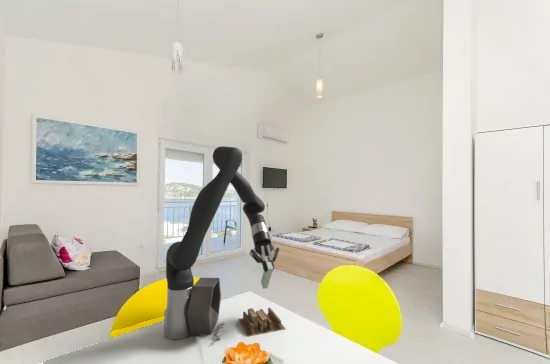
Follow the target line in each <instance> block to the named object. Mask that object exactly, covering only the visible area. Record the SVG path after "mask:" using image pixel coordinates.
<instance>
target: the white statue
mask: <svg viewBox="0 0 550 364" xmlns="http://www.w3.org/2000/svg"><path fill="white" fill-rule="evenodd" d="M225 329H226V327H225V322H224V321H222V323H220V324H218V326H217V328H216V330H215V331H214V332H212V335H213V336H211V337H210V339H209V341H211V340H213V341H212V342H210V343H209V345H208V348H210V347H213V346H214V345H215V342H216V341H221V340H222V336H221V335H222V334H223V331H224V330H225Z"/></svg>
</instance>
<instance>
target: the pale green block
mask: <svg viewBox="0 0 550 364" xmlns="http://www.w3.org/2000/svg"><path fill="white" fill-rule="evenodd" d="M266 264H267V268H268V270H267V272H265V271H264V270H263V272H262V277H261V280H260V283H261V287H262V289H268V288H269V284H270V280H271V277H272V273H273V271H274V270H273V266H272V264H271V262H268V261H266Z"/></svg>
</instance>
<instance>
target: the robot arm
mask: <svg viewBox="0 0 550 364" xmlns="http://www.w3.org/2000/svg"><path fill="white" fill-rule="evenodd" d="M212 160H213V162H214V165H215V166H216V167H217V168H218V170H219V171H218V172H217V174H216V175H215V177H214V178H213V179H211V180H210V181H209V182H208V183H207V184H205V186H204V187H202V189H201V190H200V191H199V192H198V195H197V196H196V198H195V200H194V202H193V205H192V208H191V210H190V215H189V221H188V226H187V229H186V231H185V234H184V236H183V238H182V239H181V240H180V241H176V242H173V243H172V244H171V245H170V246H169V247H168V248H167V252H166V257H165V260H166V261H165V262H166V263H165V275H166V276H165V277H166V283H167V289H166V290H167V291H166V293H167V295H166V308H165V309H164V319H163V322H164V323H163V324H164V325H163V337H164V338H168V339H170V340H175V341H177V340H182V339H186V338H187V337H189V336H190V330H189V323H188V317H187V314H188V309H189V303H190V298H191V293H192V288H193V286H194V285H195V283H194V281H195V279H194V276H193V272H192V267H193V266H194V264H196V261H197V260H198V257H199V254H200V251H201V247H202V245H203V243H204V239H205V238H206V235H207V232H208V231H209V228H210V226H211V225H212V223H213V220H214V217H215V216H216V213H217V212H218V209H219V207H220V205H221V203H222V200H223V197H224V196H225V193H226V192H227V189H228V188H229V186H230V184H231V185H232V187H233V188H234V190H235V192H236V194H237V195H238V196H239V199H240V200H241V202H242V203H244V204H243V206H242V211H243V214H245V216H246V218H247V219H248V222H249V225H250V230H251V238H252V241H253V245H254V248H252V249H250V252H249V255H250V256H251V258H252V259H253V260H254V261H255V262H256V263H257V264H261V265H262V269H263V272H264V271H265V272H267V270H268V268H267V264H266V262H271V264H272V266H273V271H274V269H275V264H274V263H275V262H276V260H277V258H278V256H279V255H278V254H279V252H280V247H274V245H273V244H272V239H271V236H270V232H269V230H268V227H267V224H266V220H265V217H264V215H262V214H261V213H263V212H264V211H265V208H266V207H265V206H266V205H265V203H264V201H263V200H262V199H261V198H260V197H259V196H258V195H257V194H256V193H255V191H254V190H253V187H252V186H251V184H250V182H249V180H247V179H246V178H245V177H244V176H243V175H242V174H241V173H240V172H239V171H238V170H239V168H240V166H241V163H242V160H243V153H242V151H241V149H239V148H238V147H233V146H226V145H225V146H223V145H222V146H218V147H216V148H215V149H214V150H213V154H212ZM272 252H273V254H272ZM272 255H273V256H272ZM267 260H268V261H267Z"/></svg>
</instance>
